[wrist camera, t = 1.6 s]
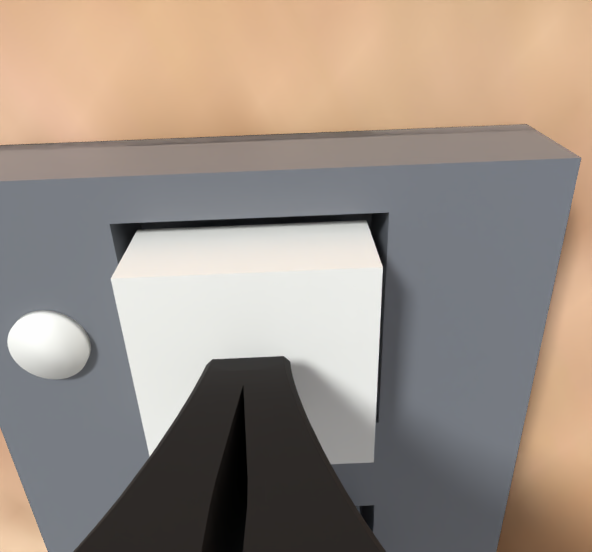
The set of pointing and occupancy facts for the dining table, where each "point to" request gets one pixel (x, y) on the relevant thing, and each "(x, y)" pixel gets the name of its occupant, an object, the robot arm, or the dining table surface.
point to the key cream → (257, 319)
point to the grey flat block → (279, 210)
